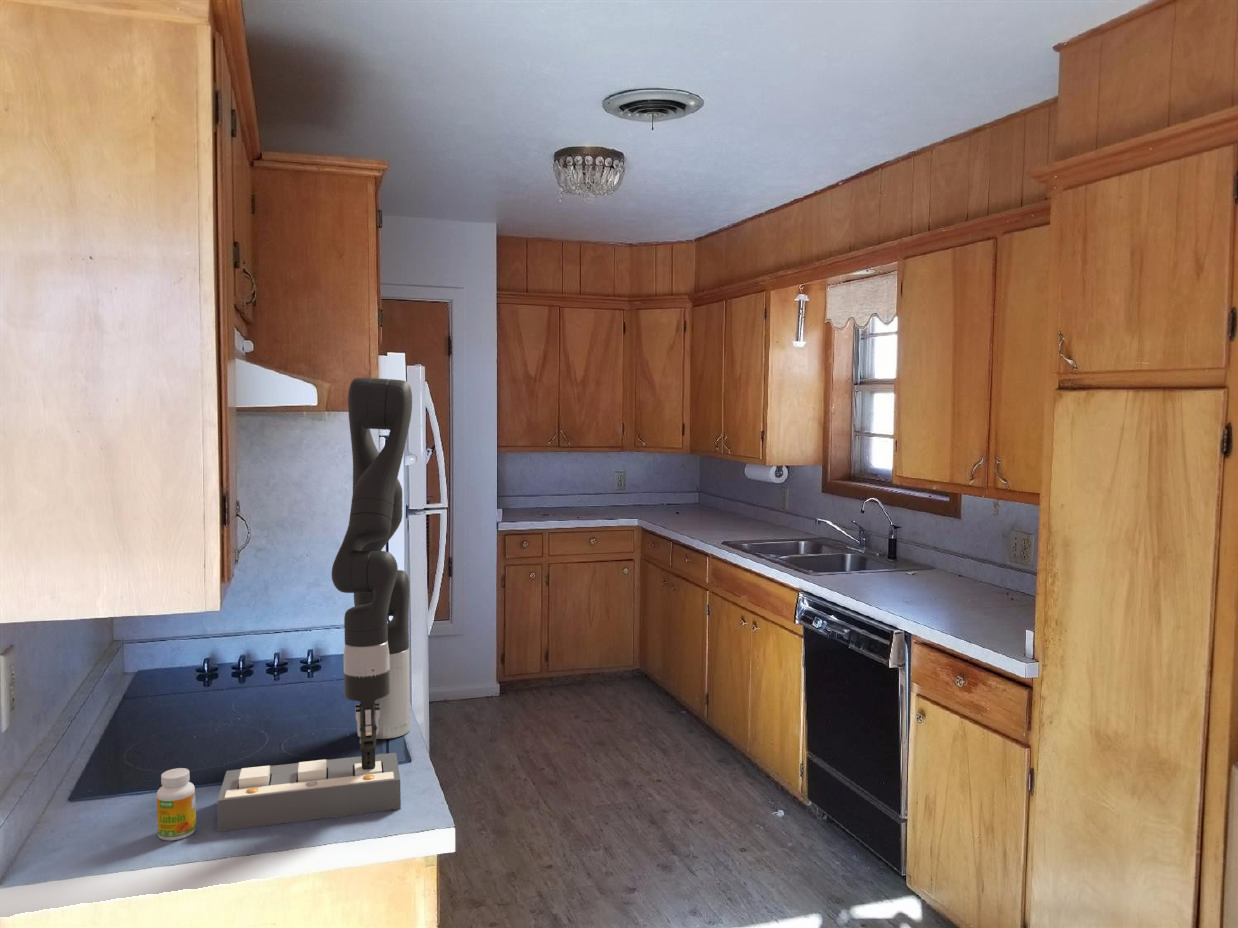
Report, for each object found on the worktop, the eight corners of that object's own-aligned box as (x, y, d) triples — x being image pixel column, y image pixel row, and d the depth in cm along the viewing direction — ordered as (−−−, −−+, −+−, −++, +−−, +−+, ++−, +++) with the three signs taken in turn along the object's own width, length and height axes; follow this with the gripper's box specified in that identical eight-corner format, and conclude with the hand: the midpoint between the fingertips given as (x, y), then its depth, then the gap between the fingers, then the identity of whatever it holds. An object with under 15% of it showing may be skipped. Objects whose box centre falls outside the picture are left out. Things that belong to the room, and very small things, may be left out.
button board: (218, 831, 143) (217, 798, 142) (227, 799, 154) (226, 768, 154) (400, 808, 151) (400, 777, 150) (396, 779, 162) (396, 750, 162)
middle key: (298, 789, 149) (297, 772, 149) (299, 778, 154) (298, 762, 153) (326, 785, 151) (325, 769, 150) (326, 775, 155) (326, 759, 155)
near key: (239, 795, 147) (238, 779, 147) (242, 784, 151) (241, 768, 151) (268, 792, 148) (267, 775, 148) (270, 781, 152) (269, 765, 152)
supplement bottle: (154, 843, 139) (152, 781, 138) (162, 827, 144) (160, 768, 143) (192, 839, 140) (190, 778, 139) (198, 823, 145) (197, 764, 145)
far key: (355, 790, 152) (354, 773, 152) (354, 779, 156) (354, 763, 156) (382, 786, 153) (382, 770, 153) (381, 776, 158) (381, 761, 157)
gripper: (391, 677, 148) (393, 780, 149) (387, 655, 161) (389, 751, 162) (343, 681, 146) (345, 786, 147) (343, 659, 159) (345, 755, 160)
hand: (368, 767), depth 155 cm, fingers closed
